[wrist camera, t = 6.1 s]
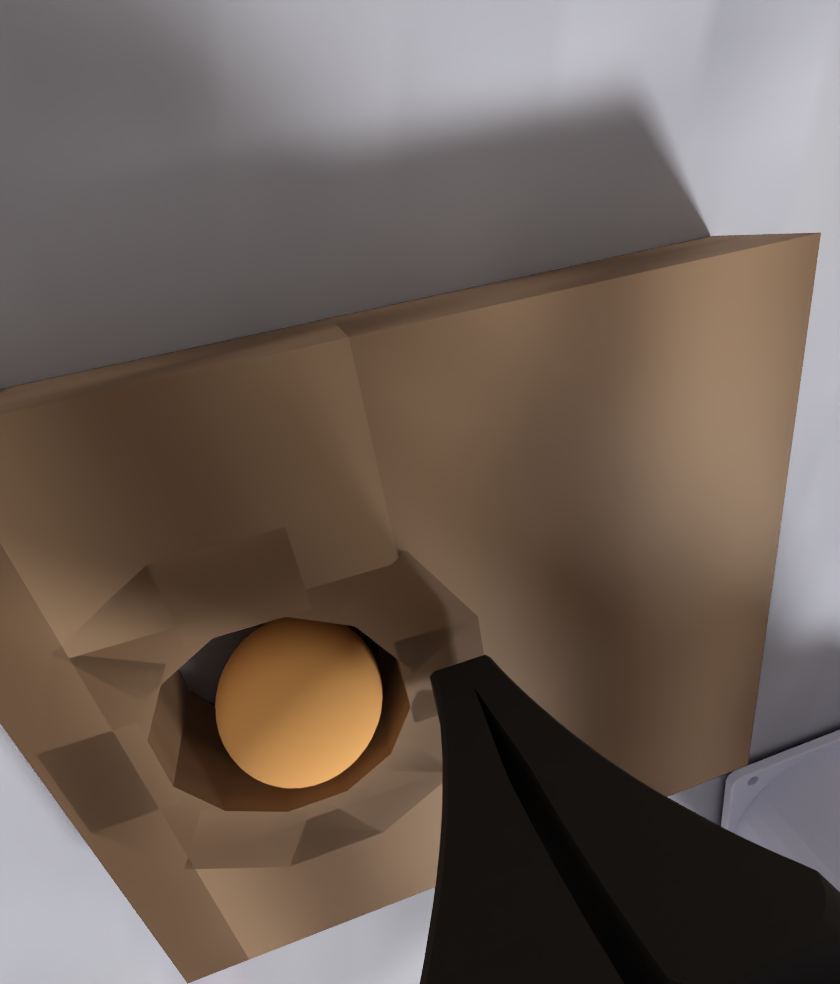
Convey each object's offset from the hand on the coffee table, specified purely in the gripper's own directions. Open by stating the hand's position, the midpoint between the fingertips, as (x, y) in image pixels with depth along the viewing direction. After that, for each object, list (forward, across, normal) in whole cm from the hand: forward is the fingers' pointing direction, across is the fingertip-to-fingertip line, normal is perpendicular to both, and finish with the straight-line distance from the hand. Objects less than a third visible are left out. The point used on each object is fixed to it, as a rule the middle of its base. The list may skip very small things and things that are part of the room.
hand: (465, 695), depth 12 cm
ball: (+2, +4, 0) cm, 4 cm away
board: (+4, 0, 0) cm, 4 cm away
